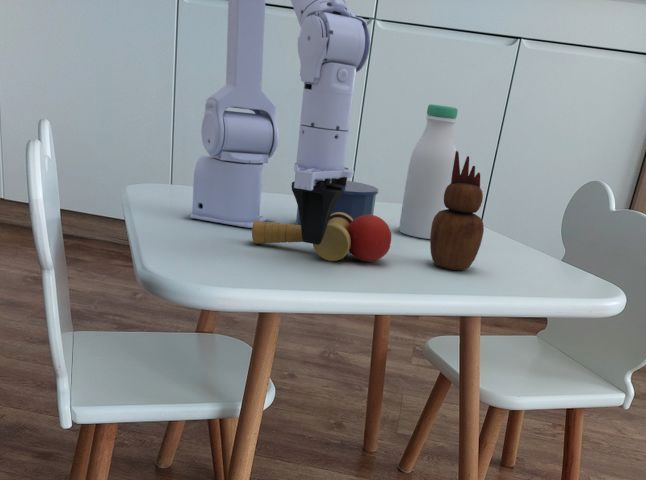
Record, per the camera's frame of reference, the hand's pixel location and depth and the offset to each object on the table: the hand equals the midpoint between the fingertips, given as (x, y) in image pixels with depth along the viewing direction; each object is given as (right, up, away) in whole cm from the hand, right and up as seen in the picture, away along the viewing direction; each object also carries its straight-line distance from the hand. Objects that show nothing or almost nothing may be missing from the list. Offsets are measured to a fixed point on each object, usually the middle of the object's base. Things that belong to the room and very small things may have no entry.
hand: (311, 242), depth 84 cm
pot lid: (+3, +11, +19) cm, 22 cm away
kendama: (+1, -1, +5) cm, 5 cm away
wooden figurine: (+18, -2, +8) cm, 20 cm away
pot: (+2, +5, +21) cm, 22 cm away
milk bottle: (+16, +5, +27) cm, 32 cm away
